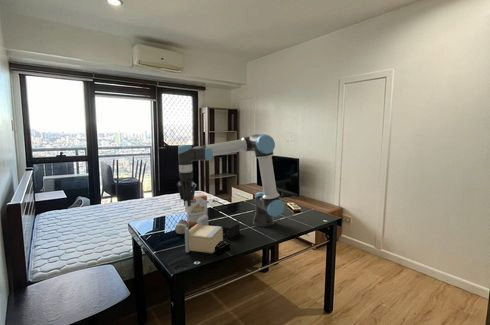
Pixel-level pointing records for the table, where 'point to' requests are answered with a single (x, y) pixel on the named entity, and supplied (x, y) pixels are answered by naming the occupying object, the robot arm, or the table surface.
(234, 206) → the table surface
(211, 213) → the table surface
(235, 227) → the digital camera
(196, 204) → the cracker box
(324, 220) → the table surface
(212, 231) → the lid
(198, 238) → the carton
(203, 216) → the bar
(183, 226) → the ceramic sculpture
